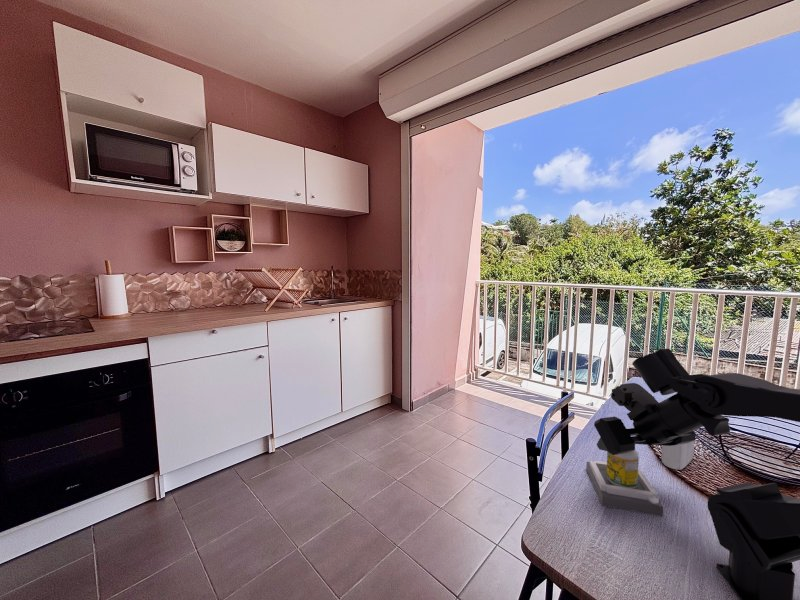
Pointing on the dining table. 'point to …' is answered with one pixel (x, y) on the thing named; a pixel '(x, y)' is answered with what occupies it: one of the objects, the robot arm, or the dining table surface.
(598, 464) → the grey square tray
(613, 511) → the dining table surface
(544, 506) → the dining table surface
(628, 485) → the supplement bottle
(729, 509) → the robot arm
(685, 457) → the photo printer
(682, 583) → the dining table surface
